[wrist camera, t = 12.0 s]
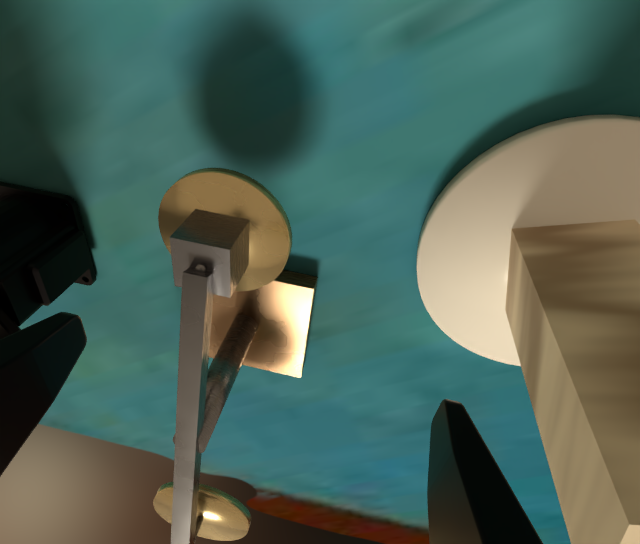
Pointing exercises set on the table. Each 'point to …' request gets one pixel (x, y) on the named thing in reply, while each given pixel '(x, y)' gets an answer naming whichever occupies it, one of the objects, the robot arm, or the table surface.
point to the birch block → (583, 366)
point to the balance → (225, 326)
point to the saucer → (519, 217)
